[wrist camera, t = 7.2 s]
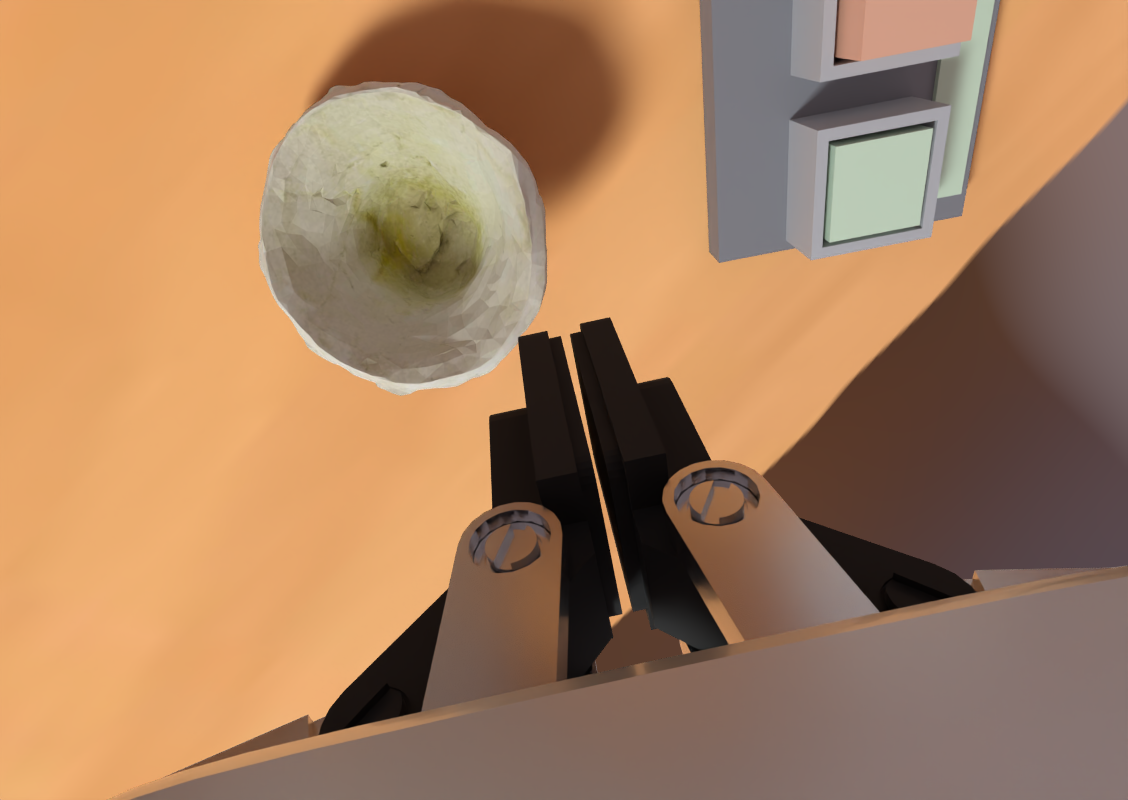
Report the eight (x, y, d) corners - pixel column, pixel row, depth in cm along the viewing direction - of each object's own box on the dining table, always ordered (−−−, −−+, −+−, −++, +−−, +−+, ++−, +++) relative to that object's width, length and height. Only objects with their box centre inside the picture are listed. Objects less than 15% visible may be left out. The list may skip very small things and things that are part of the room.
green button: (810, 136, 35) (835, 146, 32) (900, 119, 35) (933, 128, 32) (806, 226, 37) (829, 242, 35) (889, 210, 37) (919, 225, 35)
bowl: (384, 2, 32) (349, 2, 23) (584, 194, 38) (614, 250, 29) (228, 225, 37) (152, 293, 28) (428, 365, 43) (414, 455, 34)
